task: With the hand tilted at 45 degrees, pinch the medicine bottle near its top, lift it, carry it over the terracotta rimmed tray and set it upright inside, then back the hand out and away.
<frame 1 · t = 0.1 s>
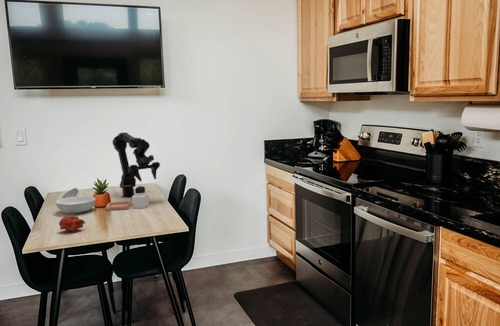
hand: (148, 180, 253), 15 cm above the table, tool tilted 35°, fingers open, 9 cm apart
grey rounded lump: (71, 202, 268), on the table
dragon fruit: (72, 231, 207), on the table
serving bowl: (77, 211, 244), on the table
terracotta tray: (118, 207, 250), on the table
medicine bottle: (140, 207, 250), on the table
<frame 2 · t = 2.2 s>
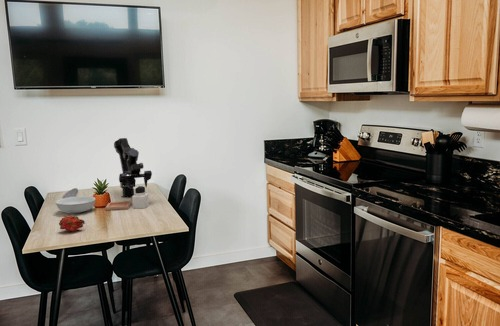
hand: (138, 187, 251), 11 cm above the table, tool tilted 45°, fingers open, 9 cm apart
nothing on the table moved.
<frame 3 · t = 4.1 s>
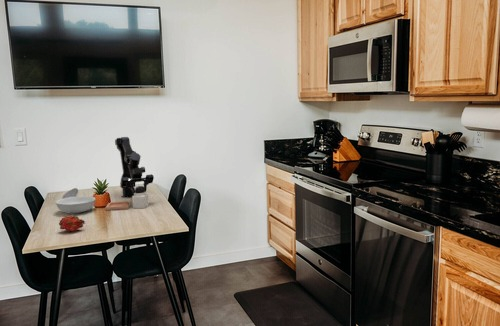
hand: (140, 192, 248), 9 cm above the table, tool tilted 45°, fingers closed on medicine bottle, 6 cm apart
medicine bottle: (140, 207, 250), on the table, touching gripper
everything else where it was.
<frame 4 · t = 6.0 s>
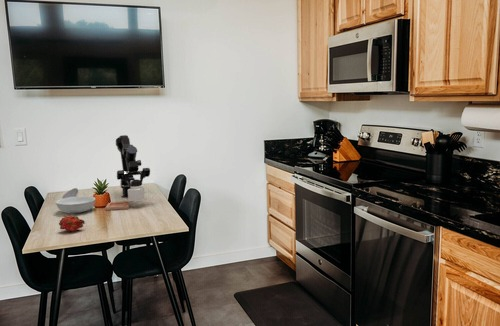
hand: (136, 185, 247), 13 cm above the table, tool tilted 45°, fingers closed on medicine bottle, 6 cm apart
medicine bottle: (136, 200, 250), point 4 cm above the table, touching gripper
everything else where it was.
when the fingers open (11 cm above the table, at t = 8.2 s): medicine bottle stays where it is, resting on terracotta tray.
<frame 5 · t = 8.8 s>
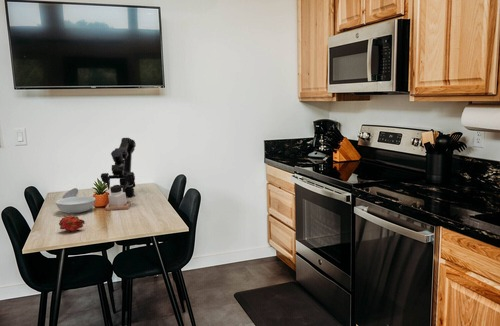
hand: (116, 189, 247), 11 cm above the table, tool tilted 45°, fingers open, 9 cm apart
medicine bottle: (118, 205, 250), point 1 cm above the table, touching terracotta tray
everything else where it was.
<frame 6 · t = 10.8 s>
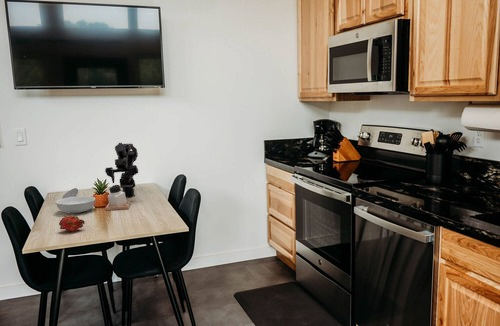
hand: (121, 182, 256), 13 cm above the table, tool tilted 45°, fingers open, 9 cm apart
nothing on the table moved.
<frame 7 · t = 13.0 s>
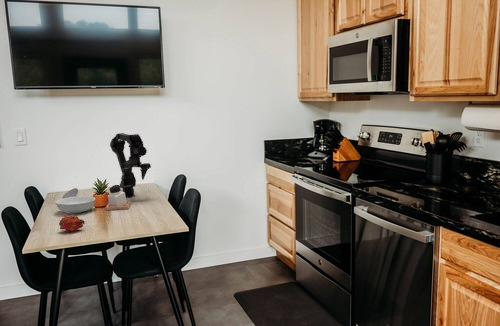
hand: (136, 179, 267), 13 cm above the table, tool pointing down, fingers open, 9 cm apart
nothing on the table moved.
at the end: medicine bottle 0.3 cm off-centre on the terracotta tray, point 1.2 cm above the terracotta tray's base; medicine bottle tilted 10°; the gripper is holding nothing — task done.
